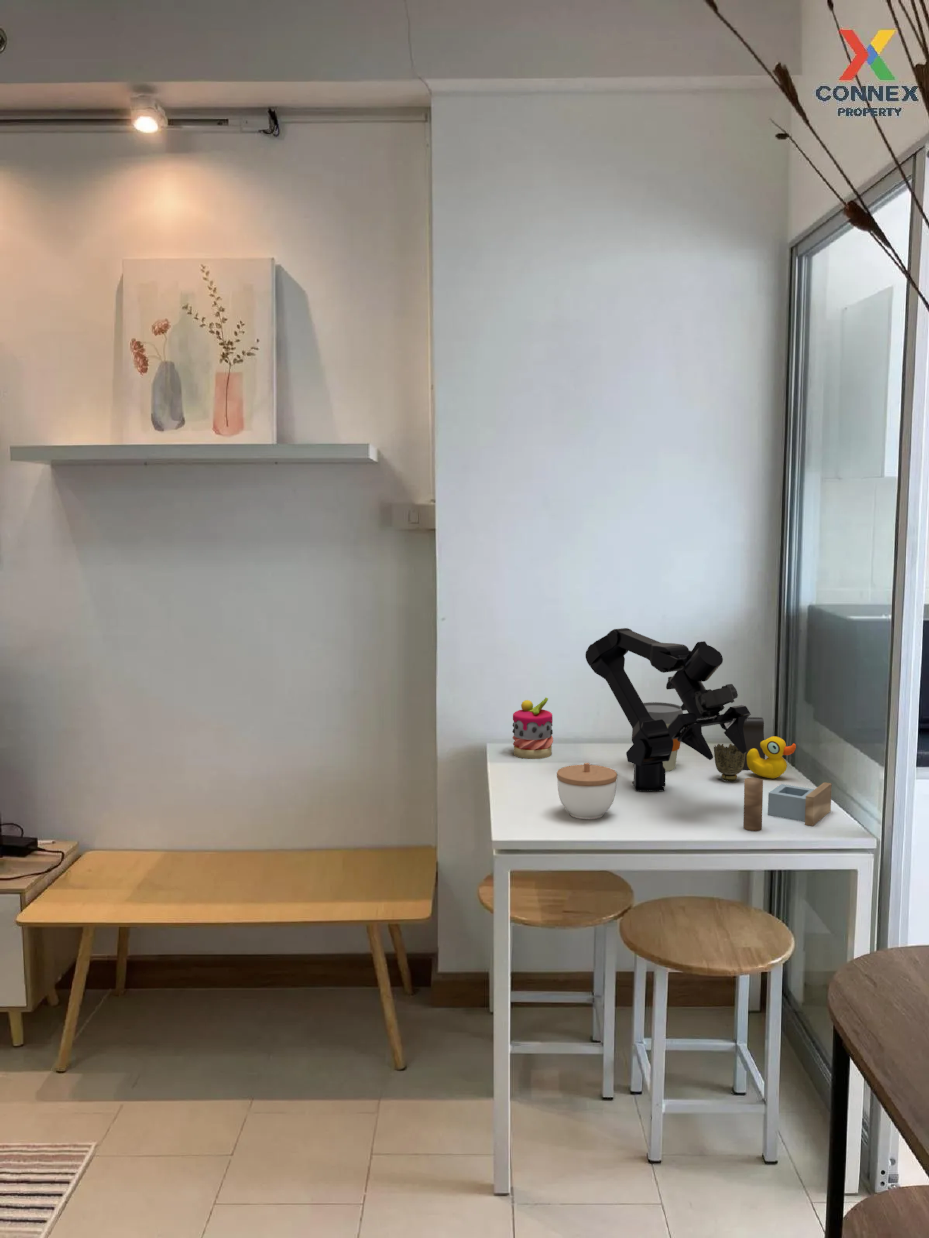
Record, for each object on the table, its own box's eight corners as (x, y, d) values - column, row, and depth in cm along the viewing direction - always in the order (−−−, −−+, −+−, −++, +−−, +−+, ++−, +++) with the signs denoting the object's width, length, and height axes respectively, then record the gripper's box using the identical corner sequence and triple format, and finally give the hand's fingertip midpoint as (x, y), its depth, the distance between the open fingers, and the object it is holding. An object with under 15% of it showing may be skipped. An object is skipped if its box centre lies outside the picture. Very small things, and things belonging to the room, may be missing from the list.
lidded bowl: (544, 815, 217) (544, 764, 216) (578, 801, 227) (578, 752, 226) (595, 827, 209) (595, 774, 208) (628, 812, 219) (628, 762, 217)
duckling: (797, 778, 243) (799, 736, 242) (791, 783, 239) (792, 741, 237) (750, 771, 249) (751, 731, 248) (743, 776, 245) (744, 735, 244)
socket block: (767, 815, 216) (768, 792, 216) (780, 806, 223) (781, 783, 222) (805, 822, 212) (806, 799, 211) (818, 812, 218) (818, 789, 217)
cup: (742, 775, 246) (743, 743, 245) (748, 784, 238) (748, 751, 237) (710, 775, 246) (711, 742, 245) (715, 784, 239) (716, 750, 238)
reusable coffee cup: (632, 773, 249) (632, 712, 247) (629, 759, 261) (630, 701, 259) (684, 774, 248) (685, 713, 246) (680, 760, 260) (681, 702, 258)
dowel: (745, 831, 206) (747, 782, 205) (741, 825, 210) (742, 777, 209) (763, 830, 206) (765, 782, 205) (759, 825, 210) (760, 777, 208)
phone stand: (765, 770, 250) (766, 722, 249) (740, 770, 251) (741, 721, 249) (757, 760, 259) (758, 713, 258) (733, 760, 260) (734, 713, 258)
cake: (512, 759, 263) (512, 701, 261) (512, 749, 273) (512, 693, 271) (553, 759, 262) (553, 701, 261) (551, 749, 273) (551, 693, 271)
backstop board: (804, 824, 210) (805, 796, 209) (823, 809, 219) (823, 782, 219) (812, 826, 209) (813, 797, 208) (830, 810, 218) (831, 783, 218)
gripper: (677, 676, 211) (714, 740, 203) (745, 667, 220) (782, 728, 211) (652, 707, 219) (686, 769, 210) (718, 697, 228) (754, 757, 219)
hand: (728, 755), depth 213 cm, fingers open, 9 cm apart
